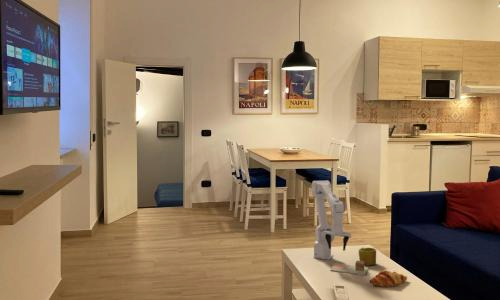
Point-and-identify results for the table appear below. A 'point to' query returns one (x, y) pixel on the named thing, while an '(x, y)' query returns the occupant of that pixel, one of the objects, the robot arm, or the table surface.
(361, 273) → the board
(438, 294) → the table surface
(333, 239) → the robot arm
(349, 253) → the table surface
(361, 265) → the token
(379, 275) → the croissant
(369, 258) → the mug
